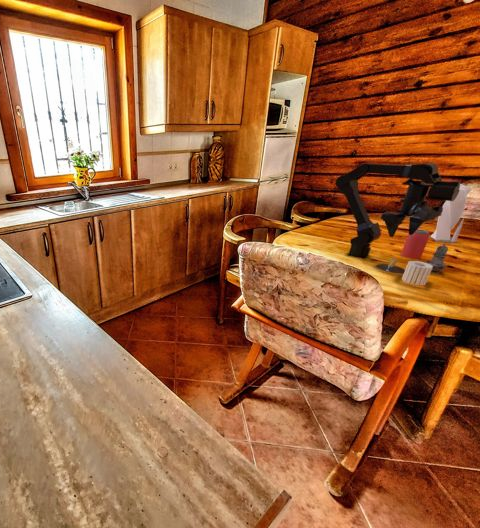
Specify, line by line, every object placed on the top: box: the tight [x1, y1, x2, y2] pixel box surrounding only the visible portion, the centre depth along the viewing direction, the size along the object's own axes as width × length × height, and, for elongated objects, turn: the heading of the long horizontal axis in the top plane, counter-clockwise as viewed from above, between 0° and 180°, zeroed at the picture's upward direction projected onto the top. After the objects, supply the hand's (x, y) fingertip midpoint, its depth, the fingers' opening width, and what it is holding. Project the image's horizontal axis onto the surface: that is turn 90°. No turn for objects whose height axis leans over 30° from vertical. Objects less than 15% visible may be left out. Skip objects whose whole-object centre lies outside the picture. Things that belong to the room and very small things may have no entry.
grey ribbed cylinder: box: [401, 260, 433, 286], centre depth 102 cm, size 6×6×7 cm
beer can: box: [400, 228, 430, 260], centre depth 122 cm, size 7×7×12 cm
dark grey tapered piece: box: [424, 243, 449, 274], centre depth 108 cm, size 6×6×12 cm
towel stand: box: [376, 258, 405, 274], centre depth 113 cm, size 9×9×4 cm
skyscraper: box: [429, 183, 473, 244], centre depth 135 cm, size 8×8×28 cm
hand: (400, 235), depth 113 cm, fingers open, 9 cm apart
